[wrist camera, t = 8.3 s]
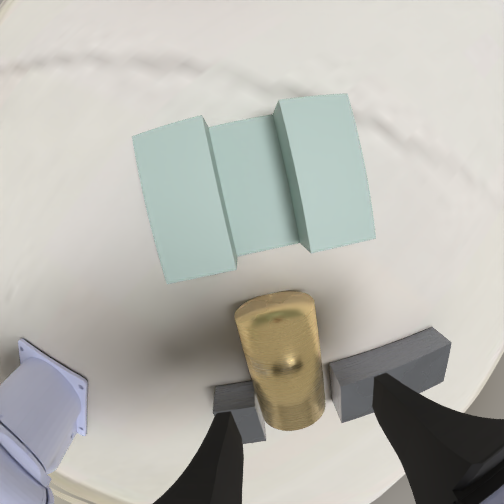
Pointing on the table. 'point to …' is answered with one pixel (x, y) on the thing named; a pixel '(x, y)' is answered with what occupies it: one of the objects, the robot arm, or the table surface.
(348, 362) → the grey rectangular blocks
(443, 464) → the robot arm
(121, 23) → the table surface
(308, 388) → the gold rounded piece
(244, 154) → the v block
